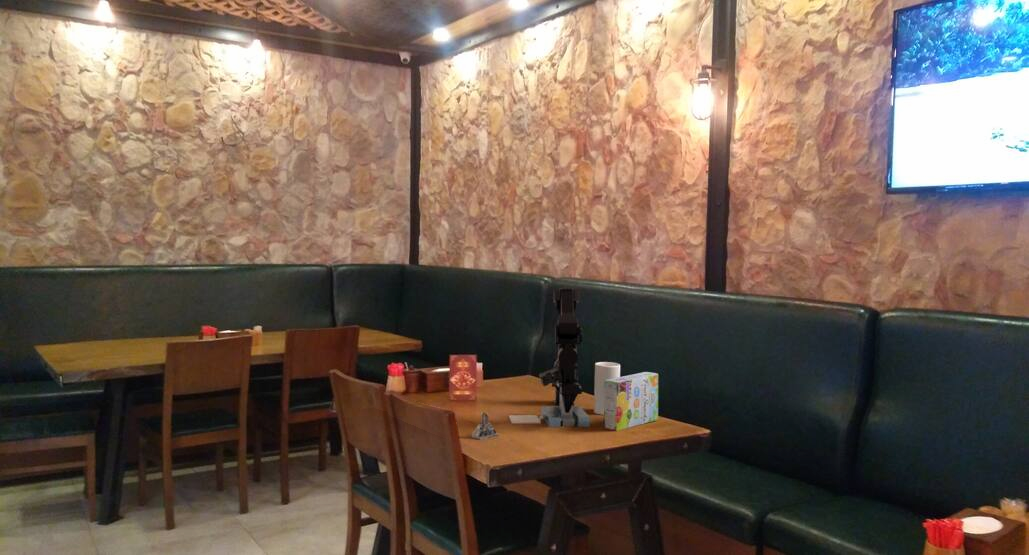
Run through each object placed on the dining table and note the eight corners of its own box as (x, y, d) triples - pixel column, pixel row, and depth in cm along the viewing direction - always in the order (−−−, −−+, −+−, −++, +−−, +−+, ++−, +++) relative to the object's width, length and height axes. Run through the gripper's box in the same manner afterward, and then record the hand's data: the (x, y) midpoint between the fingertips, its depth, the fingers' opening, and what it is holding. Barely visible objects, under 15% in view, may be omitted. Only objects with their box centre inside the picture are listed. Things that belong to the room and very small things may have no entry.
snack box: (644, 417, 255) (645, 371, 254) (658, 420, 251) (660, 373, 250) (602, 428, 240) (603, 379, 239) (616, 431, 236) (618, 381, 235)
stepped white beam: (559, 421, 248) (559, 392, 247) (570, 421, 248) (570, 392, 248) (563, 426, 241) (563, 397, 241) (574, 426, 242) (574, 397, 241)
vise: (535, 415, 254) (535, 406, 254) (579, 415, 256) (579, 406, 256) (542, 427, 240) (542, 417, 239) (589, 427, 241) (589, 417, 241)
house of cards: (483, 431, 235) (483, 405, 235) (503, 437, 229) (503, 411, 229) (459, 436, 229) (460, 410, 229) (479, 442, 223) (479, 415, 222)
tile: (508, 417, 252) (508, 415, 252) (536, 416, 253) (536, 415, 253) (511, 424, 243) (511, 422, 243) (540, 423, 244) (541, 422, 244)
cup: (618, 415, 256) (619, 366, 255) (592, 414, 258) (593, 365, 257) (619, 410, 264) (621, 362, 263) (595, 408, 266) (596, 361, 265)
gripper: (536, 356, 254) (535, 404, 255) (546, 366, 235) (544, 418, 236) (571, 356, 255) (570, 404, 256) (582, 366, 236) (581, 418, 237)
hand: (566, 411), depth 246 cm, fingers closed on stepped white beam, 3 cm apart
